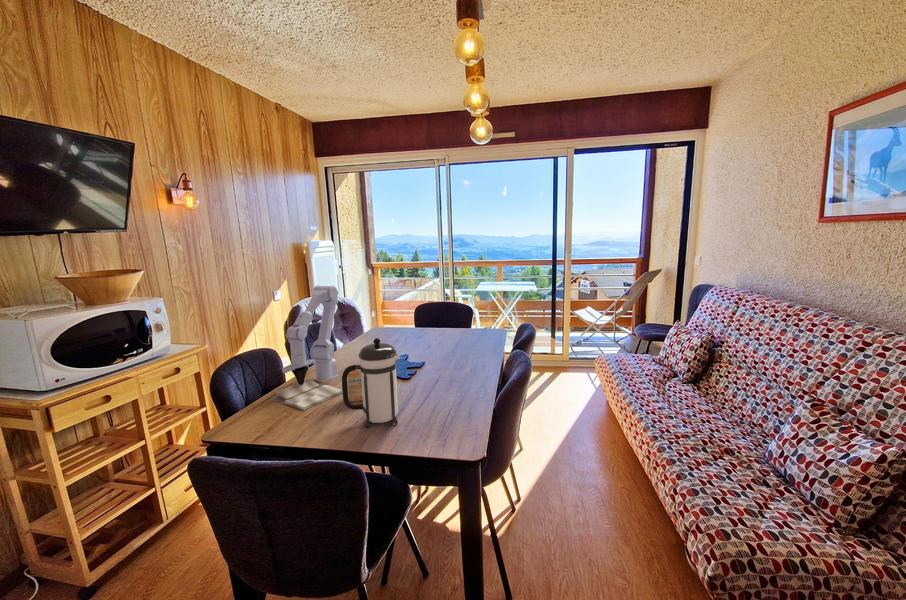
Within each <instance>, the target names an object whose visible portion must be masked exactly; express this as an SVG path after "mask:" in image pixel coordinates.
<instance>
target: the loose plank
mask: <svg viewBox="0 0 906 600" xmlns="http://www.w3.org/2000/svg"><path fill="white" fill-rule="evenodd" d="M318 387H320V384H319V383H317V382H316V381H315V380H313V379H312V378H309V379H306V380H304V384H302V385H300V384H298V383H295V384H293V385H290V386H288V387H284V388H282V389H279V390H277V391H276V393H275V394H276V395H277V396H280V397H281V398H283V399H284V400H288V399H290V398H293V397H295V396H298V395H300V394H303V393H305V392H308V391H310V390H313V389H315V388H318Z"/></svg>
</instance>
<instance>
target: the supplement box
mask: <svg viewBox="0 0 906 600" xmlns="http://www.w3.org/2000/svg"><path fill="white" fill-rule="evenodd" d="M347 385H348V398H349V401H350V402H351V403H352V402H358V401H363V396H362V381H361V371H360V369H359V370H354V371H351V372H349V374H348V375H347Z"/></svg>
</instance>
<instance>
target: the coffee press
mask: <svg viewBox="0 0 906 600" xmlns="http://www.w3.org/2000/svg"><path fill="white" fill-rule="evenodd" d="M358 358H359V364H353V365H348V366H347V367H345V368H344V371H343V372H342V376H341V389H342V392H343V394H342V399H343V401H342V402H343V403H344V405H345V407H347V409H349V410H353V411H356V410H357V411H359V410H362V411H363V417H364V419H365V422H364V425H363V428H365V429H369V428H370V427H371V426H372V424H381V423H386V422H390V423H391V424H392V426H396V425H398V423H399V421H398V420H397V416H398V414H399V402H398V386H397V384H398V383H397V382H398V381H397V360H401V356H400V354H398V353H397V350H396V349H395V348H394V346H392V345H391V344H389V343H383V342H381V339H380V338H376V337H375V338H374V340H373V343H371V344H367V345H365V346H364V347H362V348H361V349H360V351H359V353H358ZM359 369H360V371H361V381H362V396H363V400H362V403H359V404H354V403H352V402H350V401H349V395H348V378H347V375H348V374H349V372H351V371H354V370H359Z"/></svg>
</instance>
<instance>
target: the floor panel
mask: <svg viewBox="0 0 906 600" xmlns="http://www.w3.org/2000/svg"><path fill="white" fill-rule="evenodd" d="M319 385H320V384H319ZM341 395H343V392H342V388H338V387H335V386H332V385H327V384H323V385H322V384H321V385H320V387H318V388H315V389H313V390H310V391H308V392H305V393H303V394H300V395H298V396H295V397H293V398H290V399H288V400H284V399H283V398H281V397H280V396H279V395H277V396H274V397H272V398H270V400H271V401H275V402H278V403H281V404H283V405H285V406H288V407H292V408H293V409H297V410H299V411H301V412H305V411H307V410H309V409H310V410H311V409H312V408H314V407H315V406H318V405H320V404H323V403H325V402H328V401H329V400H332V399H333V398H336V397H338V396H341Z"/></svg>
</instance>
